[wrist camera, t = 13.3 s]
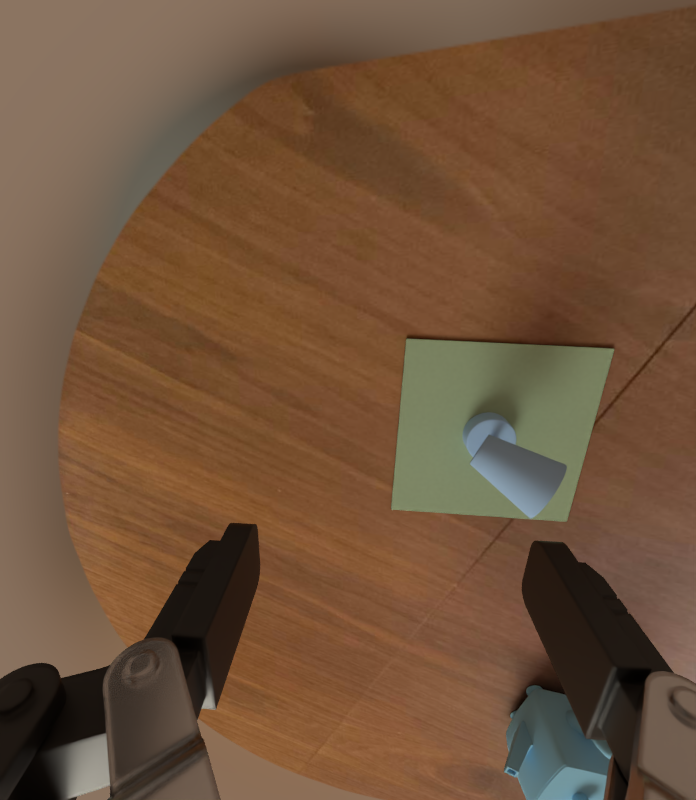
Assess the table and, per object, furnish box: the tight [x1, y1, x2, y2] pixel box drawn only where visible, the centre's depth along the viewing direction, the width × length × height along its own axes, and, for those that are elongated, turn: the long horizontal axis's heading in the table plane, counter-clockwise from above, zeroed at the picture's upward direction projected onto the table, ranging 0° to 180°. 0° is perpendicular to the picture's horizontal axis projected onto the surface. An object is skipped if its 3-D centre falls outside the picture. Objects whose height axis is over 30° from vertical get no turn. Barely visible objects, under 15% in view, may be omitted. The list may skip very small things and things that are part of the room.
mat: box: [391, 338, 614, 522], centre depth 36 cm, size 18×18×1 cm
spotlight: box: [462, 412, 567, 518], centre depth 32 cm, size 5×10×7 cm
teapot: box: [504, 685, 612, 800], centre depth 43 cm, size 18×14×10 cm
